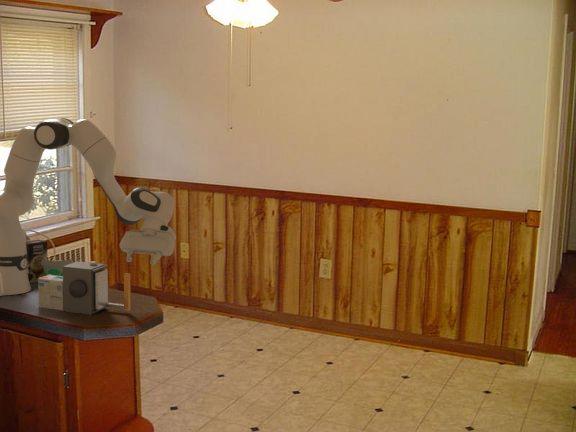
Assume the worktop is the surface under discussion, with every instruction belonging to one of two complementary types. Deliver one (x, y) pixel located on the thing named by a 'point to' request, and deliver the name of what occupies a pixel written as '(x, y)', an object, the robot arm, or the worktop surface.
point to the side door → (102, 291)
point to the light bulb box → (51, 292)
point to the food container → (55, 266)
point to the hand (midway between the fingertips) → (140, 262)
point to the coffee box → (35, 259)
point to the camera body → (80, 287)
